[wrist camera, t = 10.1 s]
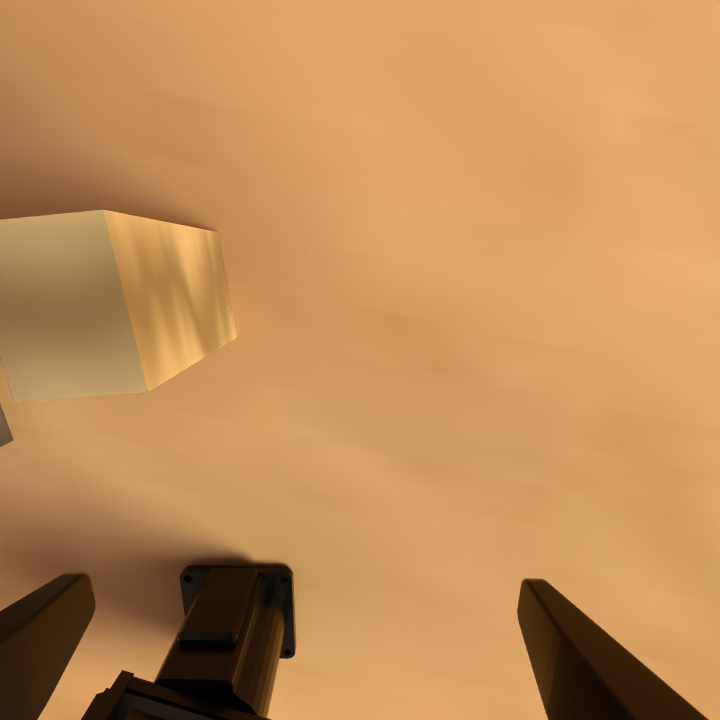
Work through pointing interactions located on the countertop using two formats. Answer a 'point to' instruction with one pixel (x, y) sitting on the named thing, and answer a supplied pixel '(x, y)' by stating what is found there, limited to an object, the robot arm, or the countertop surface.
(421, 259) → the countertop surface
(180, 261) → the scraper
